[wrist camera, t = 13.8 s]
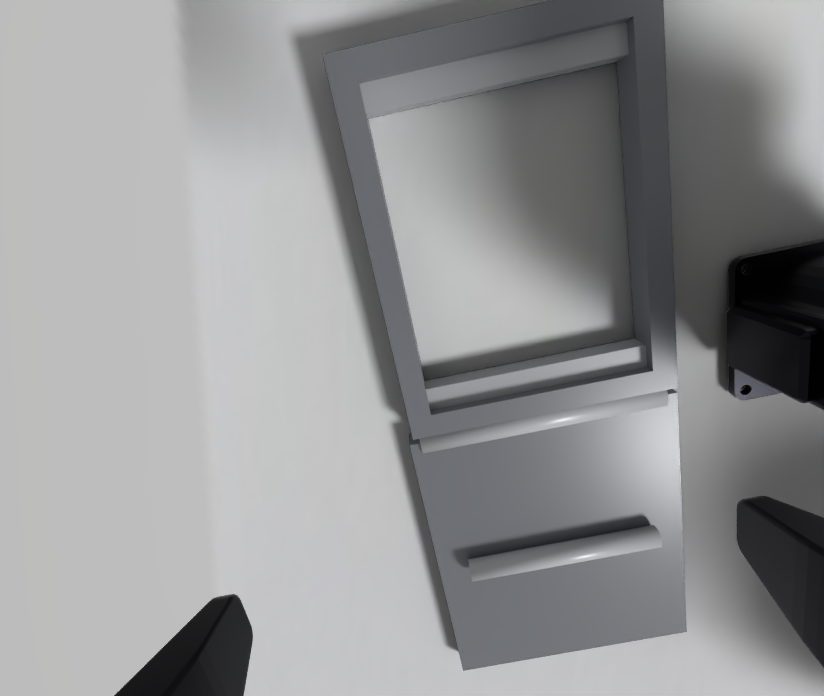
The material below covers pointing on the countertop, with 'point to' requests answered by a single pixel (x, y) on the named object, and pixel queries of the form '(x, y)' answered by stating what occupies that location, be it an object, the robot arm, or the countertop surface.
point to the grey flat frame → (541, 362)
